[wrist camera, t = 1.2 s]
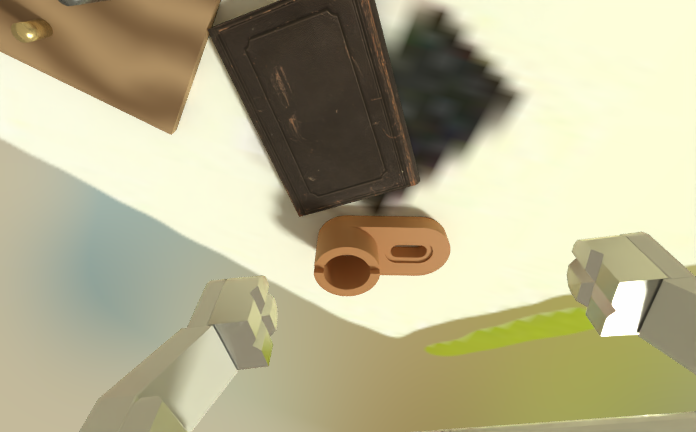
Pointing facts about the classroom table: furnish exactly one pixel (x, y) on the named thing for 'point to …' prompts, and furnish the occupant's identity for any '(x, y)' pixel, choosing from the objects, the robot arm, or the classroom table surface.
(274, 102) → the hardcover book
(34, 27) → the dowel
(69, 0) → the post
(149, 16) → the board
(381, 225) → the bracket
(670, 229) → the classroom table surface
